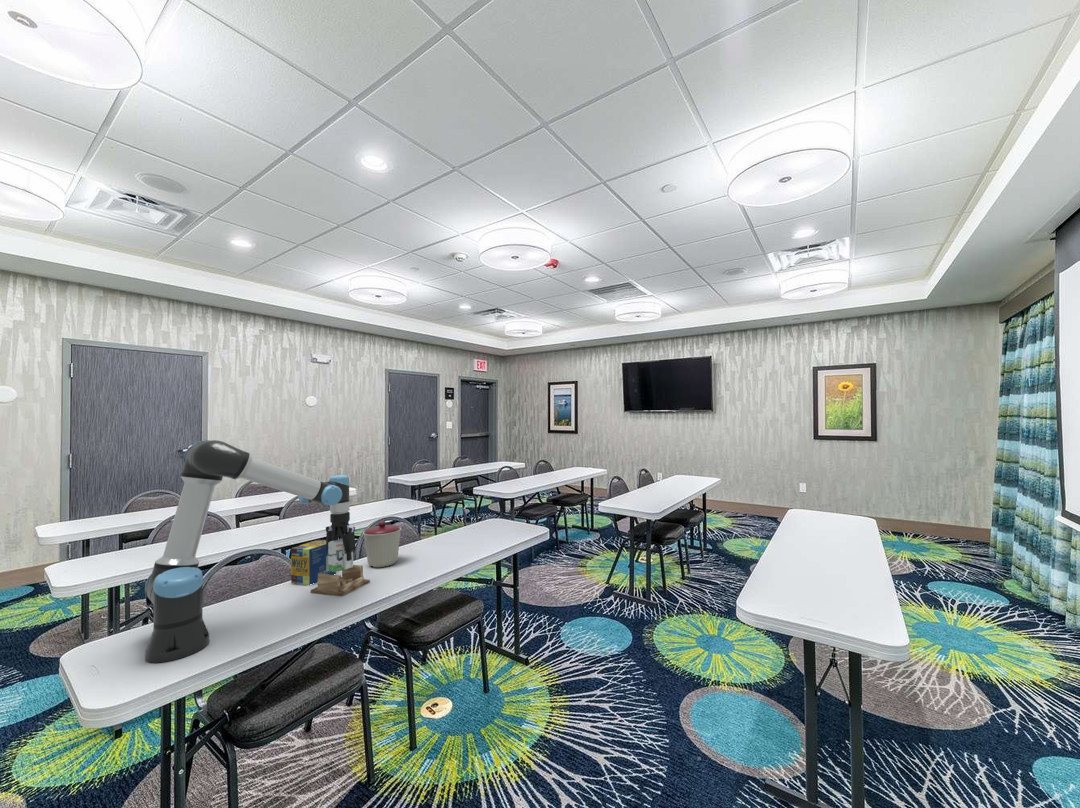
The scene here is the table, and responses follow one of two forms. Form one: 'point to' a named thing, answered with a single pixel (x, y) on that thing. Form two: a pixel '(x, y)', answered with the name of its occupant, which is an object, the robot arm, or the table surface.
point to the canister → (382, 544)
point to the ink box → (337, 556)
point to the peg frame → (341, 582)
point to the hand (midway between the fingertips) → (340, 567)
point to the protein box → (309, 562)
